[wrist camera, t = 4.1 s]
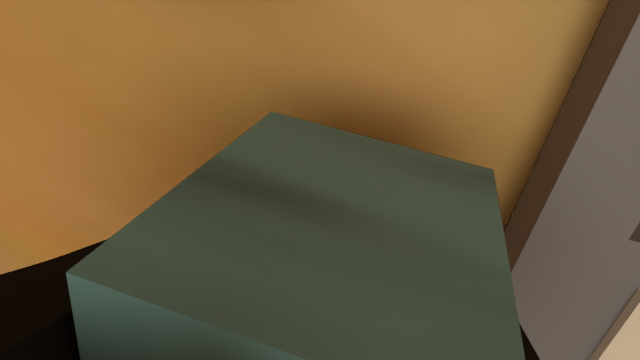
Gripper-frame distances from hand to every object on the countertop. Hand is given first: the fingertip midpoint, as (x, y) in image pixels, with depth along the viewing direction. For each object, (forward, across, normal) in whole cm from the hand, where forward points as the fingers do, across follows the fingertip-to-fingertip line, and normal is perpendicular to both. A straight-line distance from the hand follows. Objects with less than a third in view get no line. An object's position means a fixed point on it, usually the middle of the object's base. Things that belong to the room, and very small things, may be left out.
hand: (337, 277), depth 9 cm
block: (+2, 0, 0) cm, 2 cm away
